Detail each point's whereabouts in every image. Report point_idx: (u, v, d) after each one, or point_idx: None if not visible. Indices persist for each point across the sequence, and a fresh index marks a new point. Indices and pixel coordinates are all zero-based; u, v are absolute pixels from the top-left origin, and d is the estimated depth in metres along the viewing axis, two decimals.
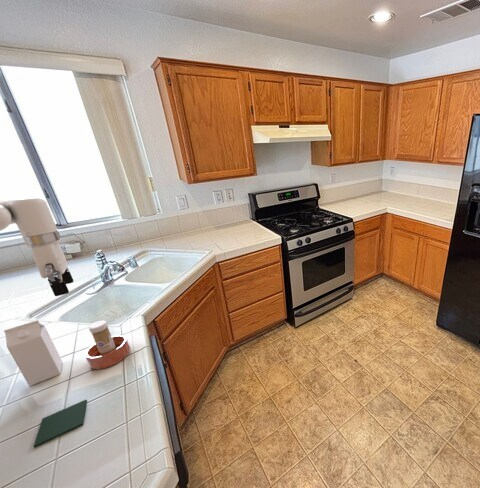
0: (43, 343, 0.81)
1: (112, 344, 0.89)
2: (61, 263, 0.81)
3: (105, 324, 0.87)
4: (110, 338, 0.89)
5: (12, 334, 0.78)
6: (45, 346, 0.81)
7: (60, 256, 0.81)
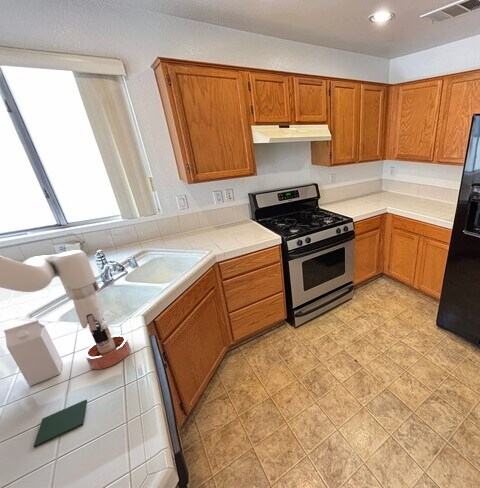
0: (43, 343, 0.81)
1: (112, 344, 0.89)
2: (100, 312, 0.83)
3: (105, 324, 0.87)
4: (110, 338, 0.89)
5: (12, 334, 0.78)
6: (45, 346, 0.81)
7: (98, 305, 0.84)
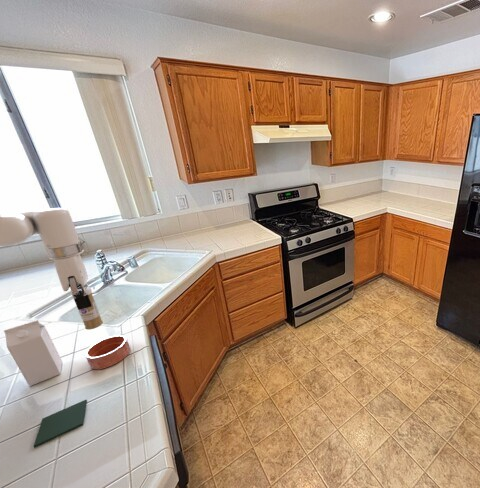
0: (43, 343, 0.81)
1: (96, 312, 0.84)
2: (83, 275, 0.79)
3: (89, 290, 0.82)
4: (94, 305, 0.84)
5: (12, 334, 0.78)
6: (45, 346, 0.81)
7: (82, 268, 0.79)
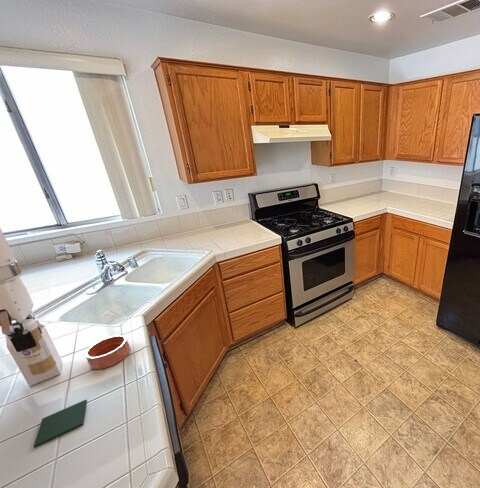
0: None
1: (45, 352, 0.64)
2: (21, 307, 0.58)
3: (33, 324, 0.62)
4: (42, 343, 0.64)
5: None
6: None
7: (20, 297, 0.59)
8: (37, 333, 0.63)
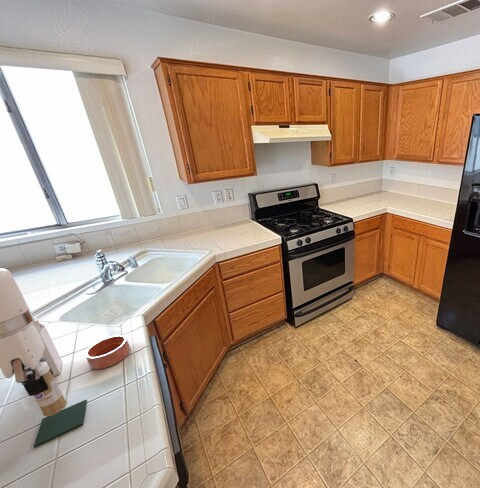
0: None
1: (56, 393, 0.66)
2: (33, 354, 0.60)
3: (45, 368, 0.63)
4: (54, 385, 0.65)
5: None
6: (45, 346, 0.81)
7: (32, 344, 0.60)
8: (49, 376, 0.64)
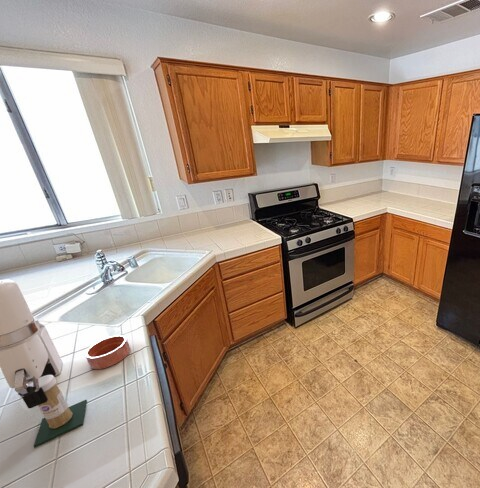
0: (43, 343, 0.81)
1: (63, 406, 0.67)
2: (38, 364, 0.61)
3: (52, 381, 0.65)
4: (60, 398, 0.66)
5: None
6: (45, 346, 0.81)
7: (37, 354, 0.61)
8: (55, 389, 0.66)
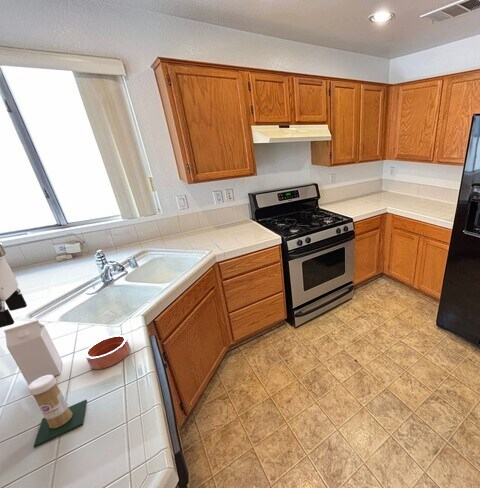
0: (43, 343, 0.81)
1: (63, 406, 0.67)
2: (4, 286, 0.63)
3: (52, 381, 0.65)
4: (60, 398, 0.66)
5: (12, 334, 0.78)
6: (45, 346, 0.81)
7: (3, 277, 0.64)
8: (55, 389, 0.66)
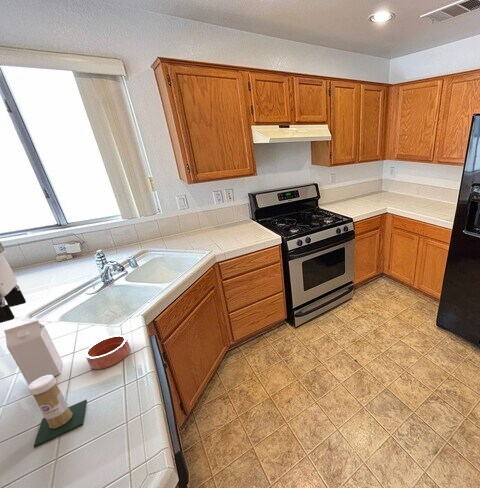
0: (43, 343, 0.81)
1: (63, 406, 0.67)
2: (4, 282, 0.64)
3: (51, 381, 0.65)
4: (60, 398, 0.66)
5: (12, 334, 0.78)
6: (45, 346, 0.81)
7: (3, 273, 0.64)
8: (55, 389, 0.66)
